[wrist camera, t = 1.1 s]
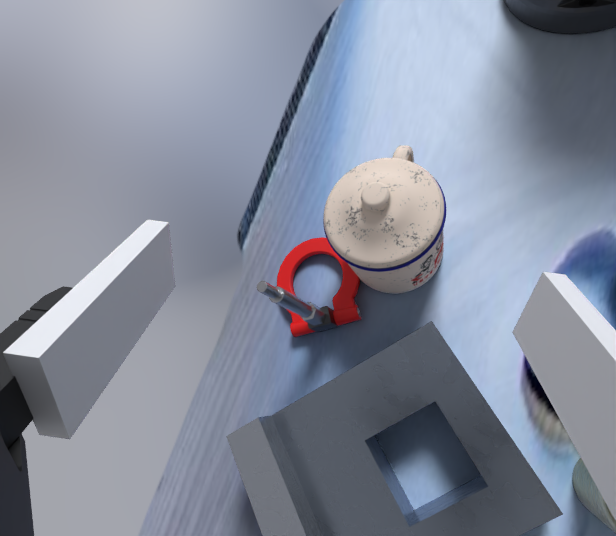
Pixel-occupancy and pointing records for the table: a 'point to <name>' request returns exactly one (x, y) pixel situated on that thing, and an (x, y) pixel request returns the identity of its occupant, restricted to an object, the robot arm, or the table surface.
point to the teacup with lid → (388, 222)
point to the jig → (372, 462)
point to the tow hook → (309, 314)
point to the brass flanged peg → (591, 495)
